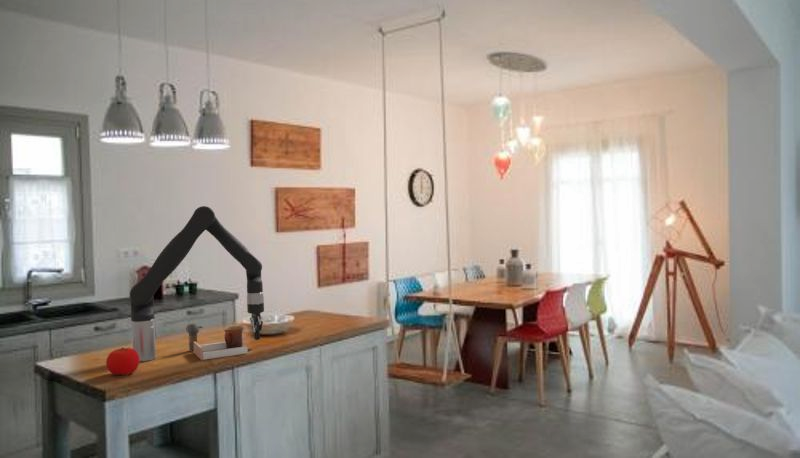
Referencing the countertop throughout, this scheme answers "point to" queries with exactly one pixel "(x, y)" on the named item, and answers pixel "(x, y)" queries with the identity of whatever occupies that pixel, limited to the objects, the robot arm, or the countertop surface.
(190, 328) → the winch prop
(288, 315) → the countertop surface
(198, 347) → the tray
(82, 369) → the countertop surface
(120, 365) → the tomato
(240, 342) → the mug
